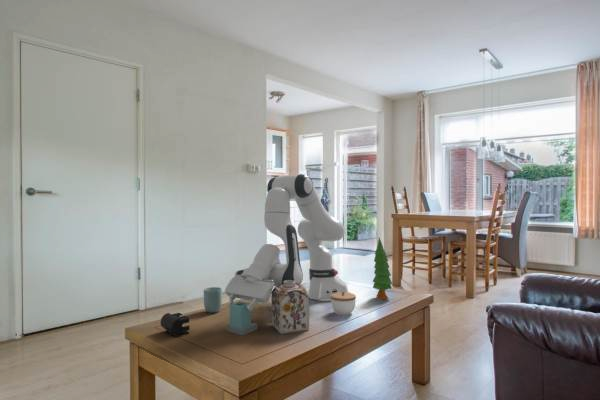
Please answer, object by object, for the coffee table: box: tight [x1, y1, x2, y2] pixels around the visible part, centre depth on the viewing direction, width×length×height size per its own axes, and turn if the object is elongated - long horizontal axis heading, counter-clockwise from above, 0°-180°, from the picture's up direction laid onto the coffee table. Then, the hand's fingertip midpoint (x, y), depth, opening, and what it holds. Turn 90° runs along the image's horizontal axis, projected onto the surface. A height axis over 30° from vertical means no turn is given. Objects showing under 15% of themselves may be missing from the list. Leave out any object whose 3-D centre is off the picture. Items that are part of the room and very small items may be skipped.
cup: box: [203, 286, 223, 314], centre depth 176 cm, size 8×8×10 cm
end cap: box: [160, 312, 190, 337], centre depth 149 cm, size 10×7×7 cm
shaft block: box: [226, 322, 258, 336], centre depth 150 cm, size 8×8×7 cm
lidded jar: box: [330, 291, 357, 316], centre depth 171 cm, size 11×11×9 cm
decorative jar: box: [271, 280, 310, 335], centre depth 153 cm, size 12×12×18 cm
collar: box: [229, 301, 252, 328], centre depth 150 cm, size 5×5×8 cm
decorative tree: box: [372, 237, 393, 300], centre depth 195 cm, size 10×9×30 cm
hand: (238, 308), depth 150 cm, fingers open, 8 cm apart
